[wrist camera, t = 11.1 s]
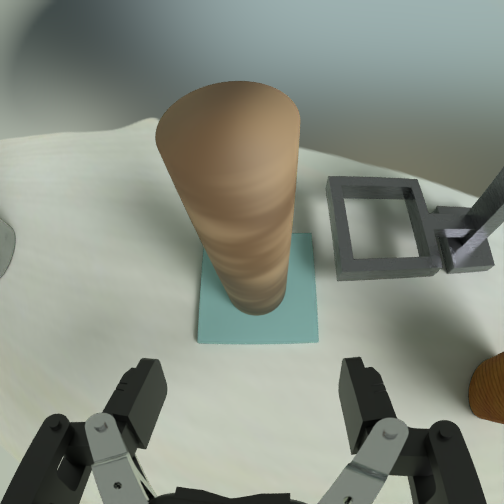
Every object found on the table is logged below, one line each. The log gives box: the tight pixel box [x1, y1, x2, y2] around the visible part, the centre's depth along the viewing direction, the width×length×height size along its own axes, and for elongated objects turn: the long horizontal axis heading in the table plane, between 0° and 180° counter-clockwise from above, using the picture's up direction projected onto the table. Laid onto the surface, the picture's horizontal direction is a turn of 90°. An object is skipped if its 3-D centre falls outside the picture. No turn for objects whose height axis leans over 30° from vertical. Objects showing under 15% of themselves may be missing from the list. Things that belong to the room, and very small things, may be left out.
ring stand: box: [326, 167, 504, 281], centre depth 20 cm, size 18×9×16 cm, turn 90°
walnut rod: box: [155, 81, 300, 316], centre depth 18 cm, size 5×5×18 cm
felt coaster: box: [198, 233, 319, 344], centre depth 26 cm, size 10×10×1 cm
